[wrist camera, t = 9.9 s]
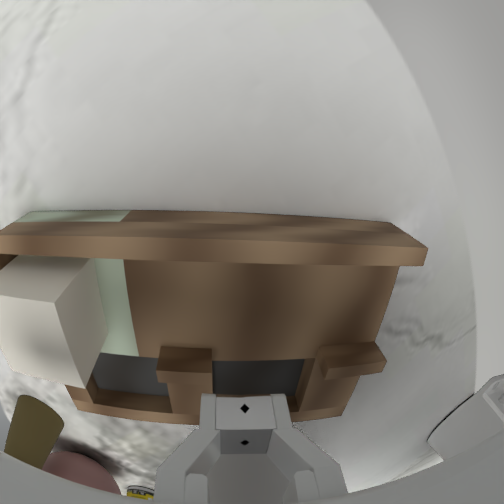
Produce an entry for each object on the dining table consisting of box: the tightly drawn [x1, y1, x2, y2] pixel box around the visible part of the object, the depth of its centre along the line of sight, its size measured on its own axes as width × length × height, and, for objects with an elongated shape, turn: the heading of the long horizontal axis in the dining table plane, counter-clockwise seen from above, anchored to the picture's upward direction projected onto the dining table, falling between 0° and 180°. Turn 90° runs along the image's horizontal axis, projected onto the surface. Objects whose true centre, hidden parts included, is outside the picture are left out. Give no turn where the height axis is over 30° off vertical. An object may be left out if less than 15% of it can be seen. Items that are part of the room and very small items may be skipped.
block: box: [0, 255, 108, 389], centre depth 12 cm, size 5×5×4 cm
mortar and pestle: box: [42, 451, 121, 495], centre depth 20 cm, size 12×12×12 cm
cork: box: [4, 395, 64, 470], centre depth 16 cm, size 6×6×11 cm
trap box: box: [0, 210, 428, 425], centre depth 16 cm, size 23×16×4 cm
